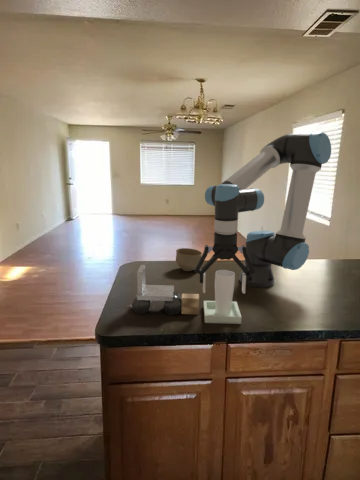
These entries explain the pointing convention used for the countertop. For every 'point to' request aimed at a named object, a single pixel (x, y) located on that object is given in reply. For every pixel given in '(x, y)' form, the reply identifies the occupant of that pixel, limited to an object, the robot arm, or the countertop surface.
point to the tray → (227, 319)
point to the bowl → (187, 258)
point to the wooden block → (190, 304)
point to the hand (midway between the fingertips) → (223, 291)
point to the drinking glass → (224, 291)
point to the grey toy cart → (155, 296)
